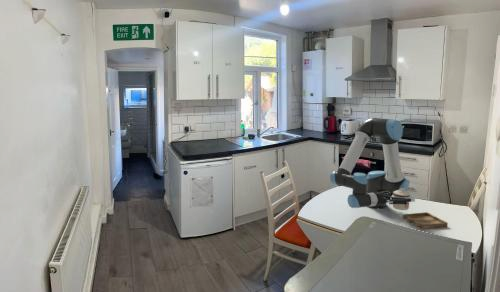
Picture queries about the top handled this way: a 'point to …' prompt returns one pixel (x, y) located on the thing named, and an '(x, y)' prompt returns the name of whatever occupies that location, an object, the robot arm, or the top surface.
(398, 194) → the teacup with lid
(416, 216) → the tray
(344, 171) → the robot arm
